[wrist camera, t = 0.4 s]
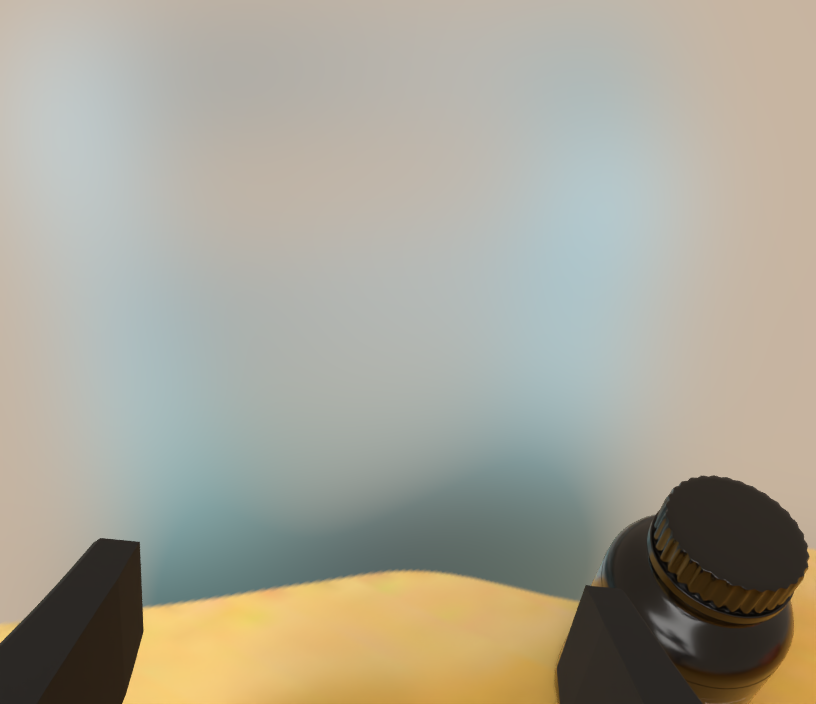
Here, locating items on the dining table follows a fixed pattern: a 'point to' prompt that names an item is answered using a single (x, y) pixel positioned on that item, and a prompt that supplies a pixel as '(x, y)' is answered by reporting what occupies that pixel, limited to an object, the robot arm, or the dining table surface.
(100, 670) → the robot arm
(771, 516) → the supplement bottle
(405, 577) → the dining table surface
